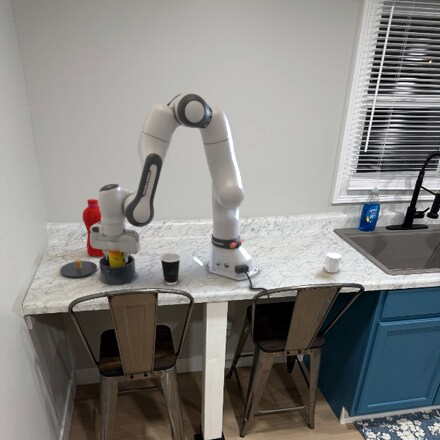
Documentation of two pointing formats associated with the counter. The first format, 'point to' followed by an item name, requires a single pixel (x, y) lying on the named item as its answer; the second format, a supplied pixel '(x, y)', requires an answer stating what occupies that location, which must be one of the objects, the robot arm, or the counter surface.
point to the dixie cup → (170, 267)
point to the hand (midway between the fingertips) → (117, 260)
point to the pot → (117, 272)
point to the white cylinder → (332, 262)
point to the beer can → (115, 255)
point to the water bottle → (90, 218)
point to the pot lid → (78, 268)
